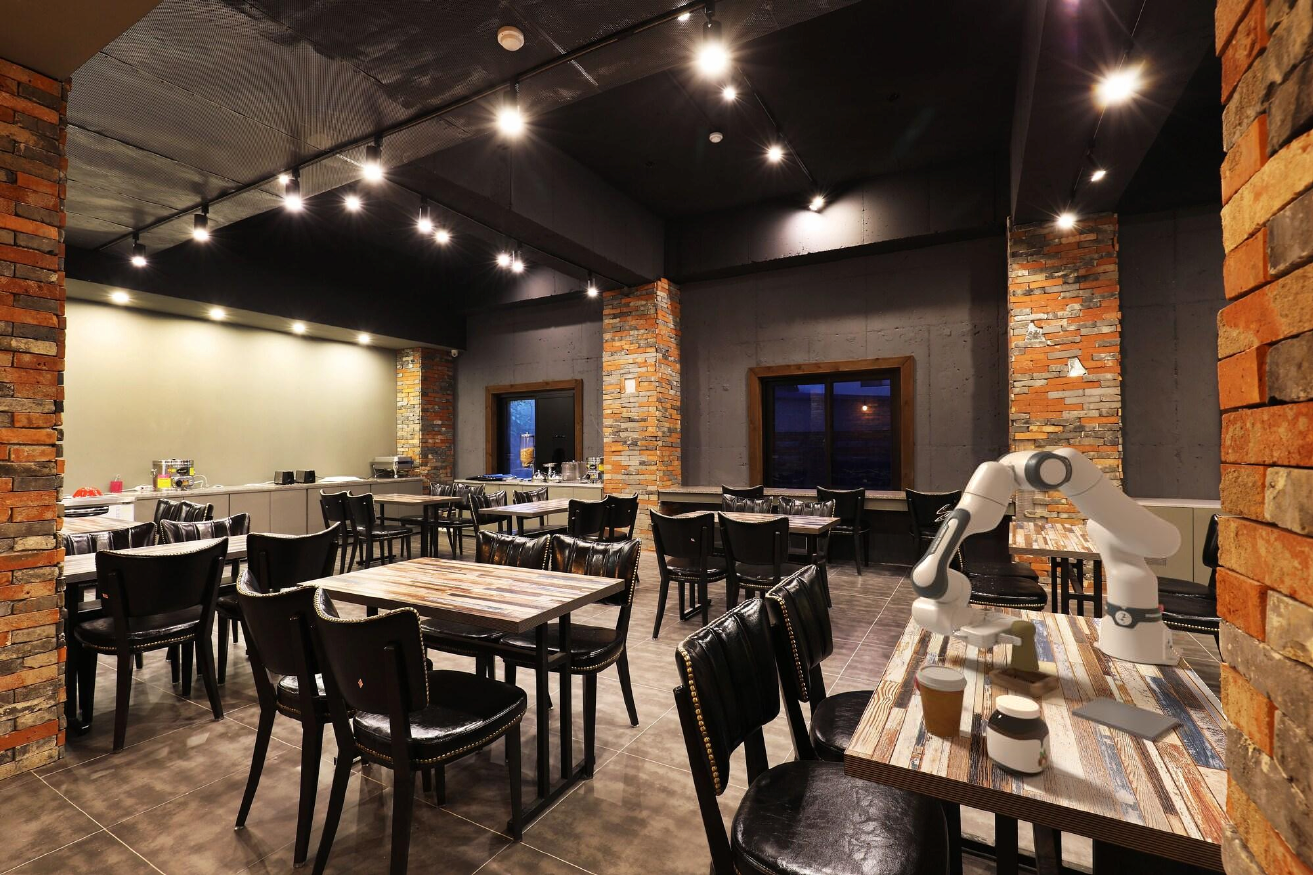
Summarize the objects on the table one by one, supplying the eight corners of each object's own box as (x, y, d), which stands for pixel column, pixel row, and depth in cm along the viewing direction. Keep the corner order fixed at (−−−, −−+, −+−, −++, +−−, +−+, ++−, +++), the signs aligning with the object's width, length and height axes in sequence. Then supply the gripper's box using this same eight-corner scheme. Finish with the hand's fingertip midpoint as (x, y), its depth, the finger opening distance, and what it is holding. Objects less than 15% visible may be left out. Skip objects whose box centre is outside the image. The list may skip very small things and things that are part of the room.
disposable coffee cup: (966, 746, 116) (964, 684, 116) (913, 734, 121) (912, 675, 121) (970, 727, 124) (969, 669, 124) (920, 716, 129) (919, 660, 129)
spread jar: (1020, 784, 103) (1018, 716, 103) (963, 753, 113) (962, 692, 114) (1064, 768, 108) (1063, 704, 108) (1006, 740, 118) (1005, 681, 118)
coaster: (1101, 699, 136) (1101, 695, 136) (1179, 723, 125) (1179, 719, 125) (1072, 714, 129) (1072, 710, 129) (1151, 741, 117) (1151, 737, 117)
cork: (1043, 672, 142) (1042, 625, 142) (1015, 670, 143) (1014, 624, 143) (1033, 662, 148) (1031, 618, 148) (1006, 661, 149) (1005, 617, 149)
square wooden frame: (1012, 673, 153) (1012, 663, 153) (1058, 687, 143) (1058, 677, 143) (989, 682, 147) (988, 672, 147) (1035, 697, 138) (1035, 687, 138)
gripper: (948, 620, 151) (1004, 634, 139) (992, 607, 162) (1048, 619, 150) (949, 645, 151) (1005, 661, 139) (993, 630, 162) (1048, 644, 150)
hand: (1027, 639), depth 145 cm, fingers closed on cork, 4 cm apart
